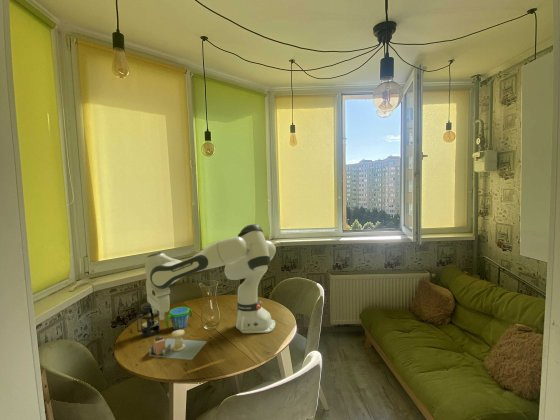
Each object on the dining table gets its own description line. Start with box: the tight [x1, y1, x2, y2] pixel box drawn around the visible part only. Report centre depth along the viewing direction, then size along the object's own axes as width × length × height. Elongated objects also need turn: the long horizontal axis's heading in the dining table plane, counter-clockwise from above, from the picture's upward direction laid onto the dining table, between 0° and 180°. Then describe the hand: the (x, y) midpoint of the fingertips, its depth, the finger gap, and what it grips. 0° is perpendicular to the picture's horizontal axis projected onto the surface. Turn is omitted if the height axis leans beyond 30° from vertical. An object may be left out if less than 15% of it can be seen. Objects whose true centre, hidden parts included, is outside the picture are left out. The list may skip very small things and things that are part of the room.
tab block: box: [153, 335, 166, 355], centre depth 134 cm, size 4×4×7 cm
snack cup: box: [165, 306, 194, 331], centre depth 161 cm, size 16×10×10 cm
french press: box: [136, 292, 161, 338], centre depth 153 cm, size 12×9×23 cm
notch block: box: [148, 344, 171, 356], centre depth 134 cm, size 8×5×3 cm, turn 80°
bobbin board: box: [147, 329, 208, 361], centre depth 137 cm, size 22×16×9 cm
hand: (158, 316), depth 134 cm, fingers open, 8 cm apart
